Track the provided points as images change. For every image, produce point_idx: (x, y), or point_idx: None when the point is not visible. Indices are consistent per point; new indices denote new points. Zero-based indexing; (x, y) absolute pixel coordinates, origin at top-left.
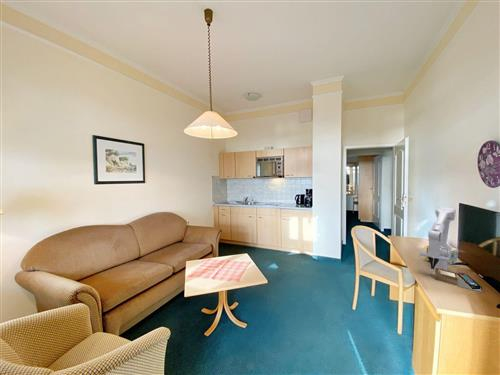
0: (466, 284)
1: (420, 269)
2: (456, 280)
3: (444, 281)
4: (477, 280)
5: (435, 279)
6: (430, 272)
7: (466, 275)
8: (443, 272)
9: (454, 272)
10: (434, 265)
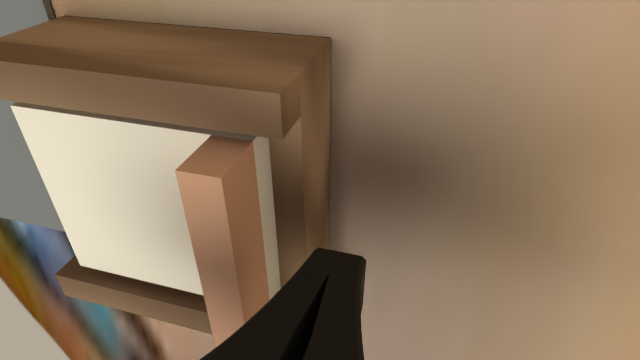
0: (14, 122)
1: (515, 331)
2: (3, 40)
3: (198, 29)
4: (27, 289)
5: (326, 38)
6: (386, 288)
7: (107, 349)
8: (186, 231)
9: (82, 289)
10: (269, 321)
